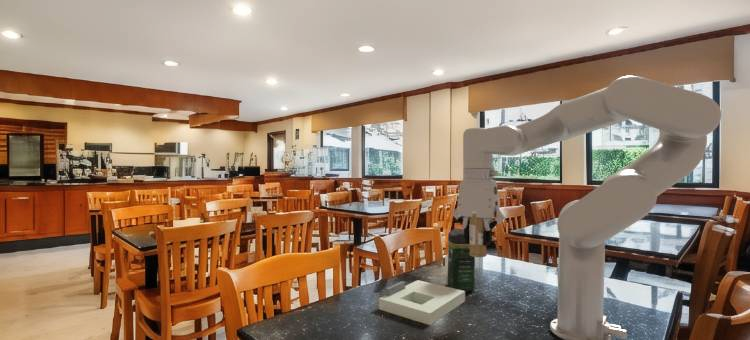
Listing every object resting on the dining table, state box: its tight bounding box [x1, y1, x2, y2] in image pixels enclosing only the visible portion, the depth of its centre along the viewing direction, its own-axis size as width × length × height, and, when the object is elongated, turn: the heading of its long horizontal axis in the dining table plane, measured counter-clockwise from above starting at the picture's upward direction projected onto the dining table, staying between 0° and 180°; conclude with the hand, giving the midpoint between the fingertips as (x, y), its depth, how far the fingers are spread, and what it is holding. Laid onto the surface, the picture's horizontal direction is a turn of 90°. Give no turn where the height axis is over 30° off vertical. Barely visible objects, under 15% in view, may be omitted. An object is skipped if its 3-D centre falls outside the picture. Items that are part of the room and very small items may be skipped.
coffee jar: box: [447, 228, 476, 293], centre depth 121 cm, size 10×8×19 cm
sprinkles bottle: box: [469, 211, 488, 258], centre depth 100 cm, size 5×5×13 cm
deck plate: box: [378, 279, 466, 326], centre depth 107 cm, size 16×20×5 cm
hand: (477, 243), depth 101 cm, fingers closed on sprinkles bottle, 4 cm apart
